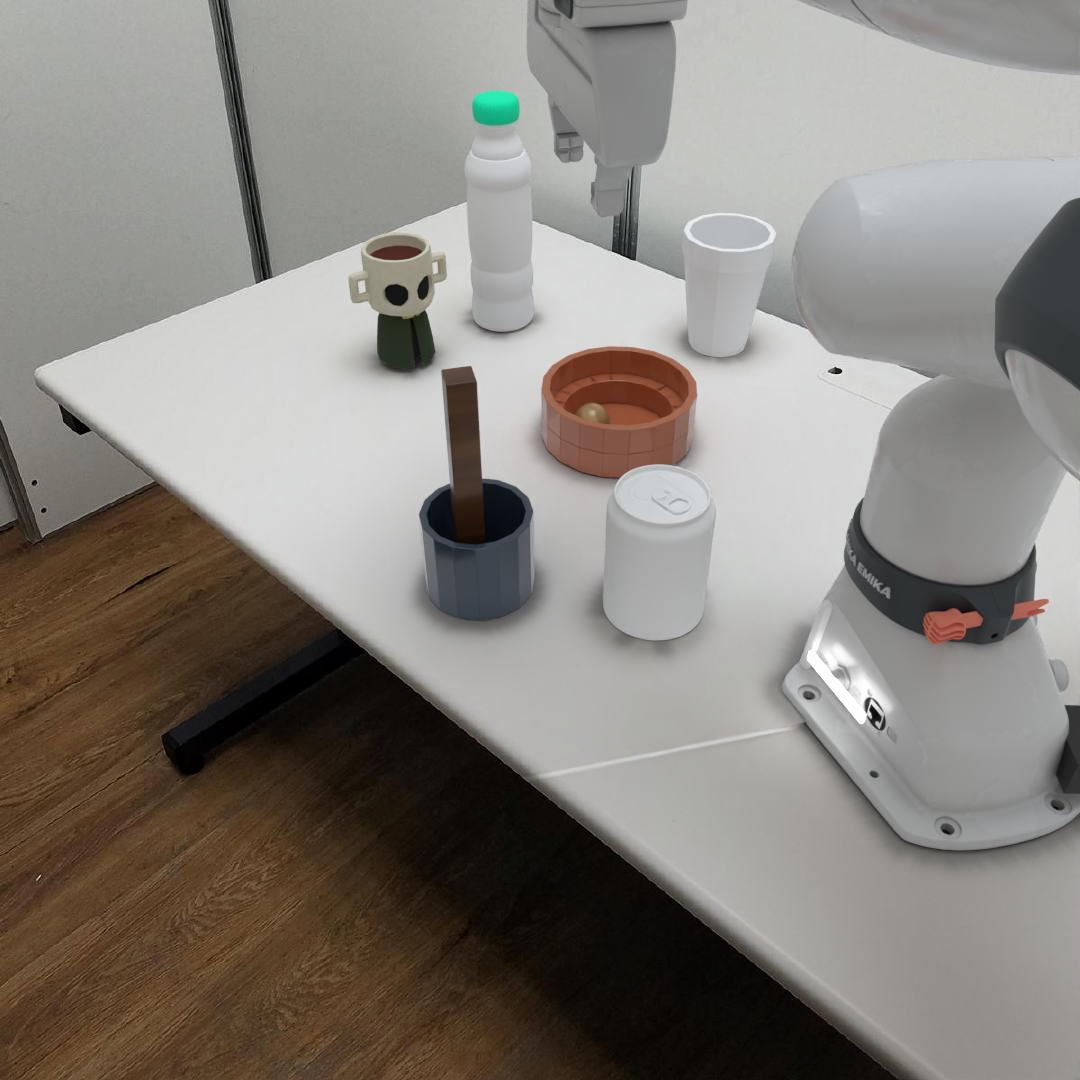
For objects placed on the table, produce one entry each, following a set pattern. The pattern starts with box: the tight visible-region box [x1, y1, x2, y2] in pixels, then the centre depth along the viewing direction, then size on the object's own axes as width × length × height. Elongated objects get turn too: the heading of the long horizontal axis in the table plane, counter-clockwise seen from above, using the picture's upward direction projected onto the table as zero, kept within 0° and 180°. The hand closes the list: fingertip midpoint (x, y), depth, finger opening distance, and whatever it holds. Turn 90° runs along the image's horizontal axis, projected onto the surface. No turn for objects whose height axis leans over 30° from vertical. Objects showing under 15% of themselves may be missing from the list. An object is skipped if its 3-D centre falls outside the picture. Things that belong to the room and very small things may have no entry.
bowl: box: [540, 345, 698, 479], centre depth 103 cm, size 15×15×6 cm
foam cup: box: [681, 212, 777, 358], centre depth 114 cm, size 10×9×13 cm
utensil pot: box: [418, 477, 536, 622], centre depth 86 cm, size 9×9×8 cm
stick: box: [440, 365, 486, 545], centre depth 81 cm, size 2×2×20 cm
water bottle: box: [464, 90, 535, 333], centre depth 115 cm, size 7×7×25 cm
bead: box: [575, 403, 611, 424], centre depth 102 cm, size 4×4×4 cm
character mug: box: [348, 231, 448, 370], centre depth 112 cm, size 11×7×13 cm, turn 120°
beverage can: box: [602, 464, 717, 641], centre depth 82 cm, size 8×8×12 cm
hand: (586, 184), depth 72 cm, fingers open, 8 cm apart
